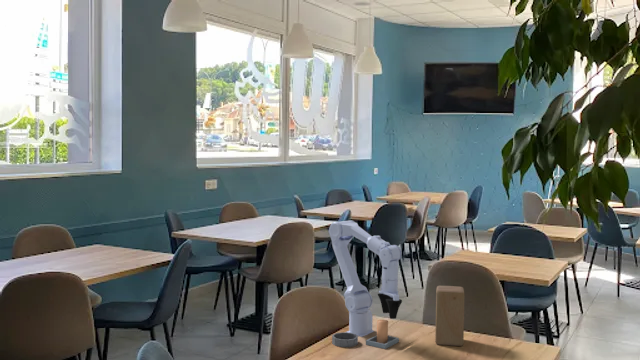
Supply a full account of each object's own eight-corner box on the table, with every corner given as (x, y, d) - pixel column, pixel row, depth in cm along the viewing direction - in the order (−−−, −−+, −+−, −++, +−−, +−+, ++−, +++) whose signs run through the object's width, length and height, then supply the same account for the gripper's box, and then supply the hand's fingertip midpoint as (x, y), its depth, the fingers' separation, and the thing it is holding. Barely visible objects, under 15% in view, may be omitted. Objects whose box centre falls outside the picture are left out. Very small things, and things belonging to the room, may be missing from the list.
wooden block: (463, 347, 221) (464, 292, 220) (435, 345, 223) (436, 290, 222) (462, 338, 230) (463, 286, 229) (435, 336, 232) (436, 284, 231)
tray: (379, 339, 229) (379, 333, 229) (398, 343, 224) (398, 337, 224) (365, 345, 221) (365, 340, 221) (385, 350, 216) (385, 344, 216)
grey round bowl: (341, 338, 229) (341, 330, 229) (362, 343, 223) (362, 335, 223) (327, 345, 221) (327, 336, 221) (348, 350, 216) (348, 341, 216)
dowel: (379, 340, 225) (380, 319, 225) (389, 342, 223) (390, 320, 222) (374, 343, 222) (375, 321, 221) (384, 345, 220) (384, 323, 219)
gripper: (373, 275, 229) (372, 311, 230) (386, 283, 215) (385, 321, 216) (391, 274, 231) (390, 310, 231) (405, 282, 217) (404, 320, 217)
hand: (389, 315), depth 224 cm, fingers open, 7 cm apart
